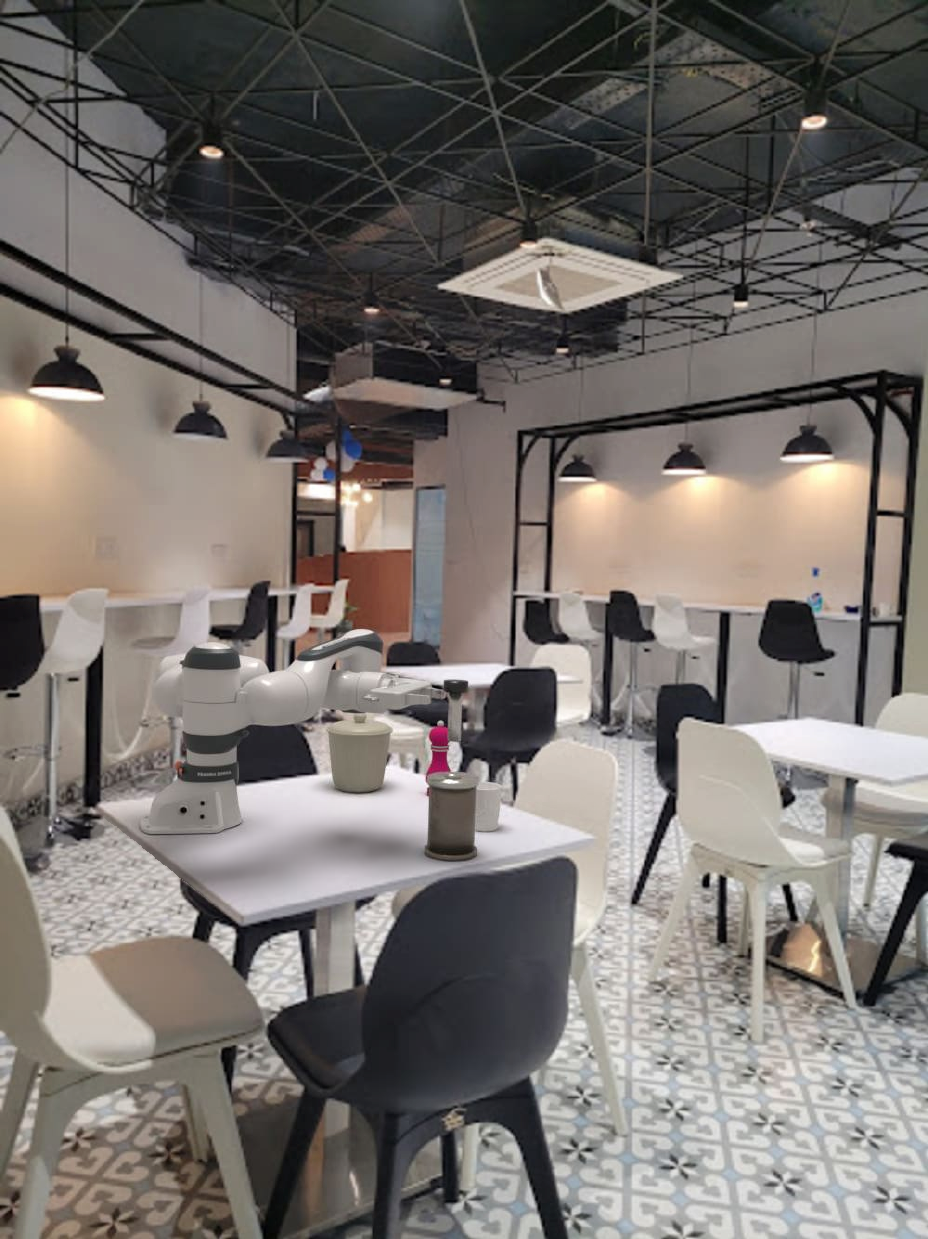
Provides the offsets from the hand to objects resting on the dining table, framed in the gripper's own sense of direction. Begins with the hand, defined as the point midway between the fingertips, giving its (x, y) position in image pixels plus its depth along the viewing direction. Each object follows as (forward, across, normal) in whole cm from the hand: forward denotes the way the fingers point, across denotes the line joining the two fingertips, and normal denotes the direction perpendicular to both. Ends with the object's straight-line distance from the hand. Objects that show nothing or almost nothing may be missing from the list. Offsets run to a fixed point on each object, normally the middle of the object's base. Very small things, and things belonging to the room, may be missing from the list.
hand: (437, 697), depth 191 cm
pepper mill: (-15, +47, +33) cm, 59 cm away
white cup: (+5, +22, +33) cm, 40 cm away
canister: (-37, +44, +33) cm, 67 cm away
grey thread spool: (+4, 0, +33) cm, 33 cm away
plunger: (+4, 0, +9) cm, 10 cm away
